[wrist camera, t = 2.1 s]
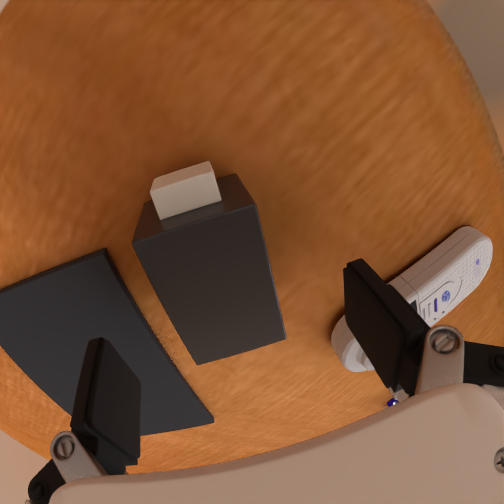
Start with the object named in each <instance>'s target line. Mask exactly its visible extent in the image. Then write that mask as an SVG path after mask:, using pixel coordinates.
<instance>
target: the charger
mask: <svg viewBox="0 0 504 504" xmlns="http://www.w3.org/2000/svg"><path fill="white" fill-rule="evenodd" d="M150 195H151V197H152V201H149V202H146V203H144V206H143V209H142V212H141V215H140V218H139V221H138V224H137V227H136V230H135V234H134V237H133V240H132V245H133V248H134V250H135V252H136V254H137V256H138V258H139V260H140V262H141V264H142V266H143V268H144V270H145V272H146V274H147V276H148V278H149V280H150V282H151V284H152V286H153V288H154V290H155V292H156V294H157V296H158V298H159V300H160V302H161V304H162V305H163V307H164V309H165V311H166V313H167V315H168V316H169V318H170V320H171V322H172V324H173V325H174V327H175V329H176V331H177V332H178V334H179V336H180V338H181V339H182V341H183V343H184V345H185V346H186V348H187V350H188V351H189V353H190V355H191V356H192V358H193V360H194V361H195V363H196V364H197V365H201V364H204V363H208V362H212V361H215V360H219V359H223V358H226V357H230V356H233V355H237V354H240V353H243V352H247V351H250V350H253V349H257V348H260V347H263V346H266V345H269V344H272V343H275V342H278V341H281V340H284V339H286V332H285V328H284V323H283V319H282V314H281V310H280V305H279V301H278V296H277V292H276V288H275V283H274V279H273V274H272V270H271V266H270V261H269V257H268V253H267V248H266V244H265V240H264V236H263V231H262V227H261V223H260V219H259V214H258V210H257V206H256V204H255V202H254V200H253V199H252V197H251V196H250V194H249V193H248V191H247V189H246V188H245V186H244V185H243V183H242V182H241V180H240V178H239V177H238V175H237V174H233V175H230V176H227V177H223V178H220V179H215V175H214V172H213V169H212V166H211V164H210V161H206V162H203V163H199V164H196V165H193V166H190V167H187V168H184V169H181V170H178V171H174V172H171V173H169V174H166V175H163V176H160V177H157V178H155V179H154V181H153V184H152V187H151V189H150Z"/></svg>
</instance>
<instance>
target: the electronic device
mask: <svg viewBox="0 0 504 504" xmlns="http://www.w3.org/2000/svg"><path fill="white" fill-rule="evenodd" d="M492 251H493V248H492V242H491V240H490V239H489V238H488V237H487V236H485V235H484V234H482V233H481V232H479V231H478V230H476V229H474V228H473V227H470V226H466V227H462V228H460V229H458V230H457V231H455V232H454V233H453V234H452V235H451V236H449V237H448V238H447V239H446V240H444V241H443V242H442V243H441V244H440V245H438V246H437V247H436V248H434V249H433V250H432V251H431V252H429V253H428V254H427V255H426V256H424V257H423V258H422V259H420V260H419V261H418V262H416V263H415V264H414V265H412V266H411V267H410V268H408V269H407V270H406V271H404V272H403V273H402V274H400V275H399V276H397V277H396V278H395V279H393V280H392V281H390V282H389V283H388V284H391V285H392V286H393V287H394V288H395V289H396V290H397V291H398V292H399V293H400V294H401V295H402V296H403V297H404V298H405V299H406V301H407V302H408V303H409V304H410V305H411V306H412V307H413V308H414V309H415V311H416V312H417V313H418V314H419V315H420V316H421V317H422V318H423V320H424V321H425V322H426V323H427V324H428V325H429V327H431V326H433V325H434V324H435V323H436V322H437V321H439V320H440V319H441V318H442V317H444V316H445V315H446V314H447V313H448V312H449V311H451V310H452V309H453V308H454V307H455V306H456V305H458V304H459V303H460V302H461V301H462V300H463V299H464V298H465V297H466V296H468V295H469V294H470V293H471V292H472V291H473V290H474V289H475V288H476V287H477V286H478V285H479V284H480V282H481V281H482V279H483V278H484V276H485V274H486V272H487V270H488V268H489V266H490V263H491V259H492ZM331 346H332V347H333V349H334V351H335V353H336V354H337V356H338V358H339V359H340V361H341V363H342V364H343V366H344V367H345V368H346V369H348V370H350V371H353V372H363V371H366V370H375V369H374V367H373V366H372V364H371V362H370V361H369V359H368V358H367V356H366V354H365V353H364V351H363V350H362V348H361V346H360V345H359V343H358V342H357V340H356V339H355V337H354V335H353V334H352V332H351V331H350V329H349V328H348V326H347V324H346V320H345V315H343V317H342V318H341V319H340V320H339V321H338V322H337V324H336V326H335V328H334V330H333V332H332V335H331ZM388 389H389V391H390V392H391V394H392V395H393V397H394V398H395V399H396V400H398V401H399V402H401V401H403V400H405V399H407V396H408V394H406V393H405V392H404V390H403V389H402V390H400V391H398V392H396V393H394V392H393V390H392V389H391V387H390V388H388Z"/></svg>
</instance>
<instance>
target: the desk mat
mask: <svg viewBox="0 0 504 504" xmlns="http://www.w3.org/2000/svg"><path fill="white" fill-rule="evenodd" d="M99 337H103V338H104V339H105V340H109V341H110V343H111V344H112V345H113V347H114V348H115V349H116V351H117V352H118V353H119V355H120V356H121V357H122V359H123V360H124V361H125V362H126V364H127V365H128V366H129V367H130V369H131V370H132V371H133V372H134V374H135V375H136V376H137V377H138V378H139V380H140V382H141V413H140V436H142V435H150V434H157V433H163V432H170V431H175V430H181V429H187V428H192V427H197V426H202V425H206V424H211V423H214V418H213V416H212V415H211V414H210V412H209V411H208V410H207V409H206V407H205V406H204V405H203V403H202V402H201V401H200V399H199V398H198V397H197V395H196V394H195V393H194V391H193V390H192V389H191V387H190V386H189V385H188V383H187V382H186V380H185V379H184V378H183V376H182V375H181V373H180V372H179V370H178V369H177V368H176V366H175V365H174V363H173V362H172V360H171V359H170V357H169V356H168V354H167V353H166V351H165V350H164V348H163V347H162V345H161V344H160V342H159V341H158V339H157V338H156V336H155V334H154V333H153V331H152V330H151V328H150V326H149V325H148V323H147V322H146V320H145V318H144V317H143V315H142V313H141V312H140V310H139V308H138V307H137V305H136V303H135V301H134V300H133V298H132V296H131V295H130V293H129V291H128V289H127V287H126V286H125V284H124V282H123V280H122V278H121V277H120V275H119V273H118V271H117V269H116V267H115V265H114V263H113V261H112V260H111V258H110V256H109V254H108V252H107V250H106V248H105V249H102V250H99V251H96V252H94V253H91V254H88V255H86V256H83V257H80V258H78V259H75V260H72V261H70V262H67V263H65V264H62V265H60V266H57V267H54V268H52V269H49V270H47V271H44V272H42V273H39V274H37V275H34V276H32V277H30V278H27V279H25V280H22V281H20V282H18V283H15V284H13V285H11V286H8V287H6V288H4V289H1V290H0V346H1V347H2V348H3V349H4V350H5V352H6V353H7V354H8V355H9V356H10V357H11V358H12V359H13V361H14V362H15V363H16V364H17V365H18V366H19V367H20V368H21V369H22V370H23V371H24V372H25V373H26V374H27V375H28V377H29V378H30V379H31V380H32V381H33V382H34V383H35V384H36V385H38V386H39V387H40V388H41V389H42V390H43V391H44V392H45V393H46V394H47V395H48V396H49V397H50V398H51V399H52V400H54V401H55V402H56V403H57V404H58V405H59V406H60V407H61V408H63V409H64V410H65V411H66V412H67V413H69V414H70V415H71V416H72V412H73V406H74V401H75V396H76V391H77V386H78V381H79V377H80V373H81V368H82V364H83V360H84V356H85V352H86V348H87V344H88V341H89V340H91V339H95V338H99Z"/></svg>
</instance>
